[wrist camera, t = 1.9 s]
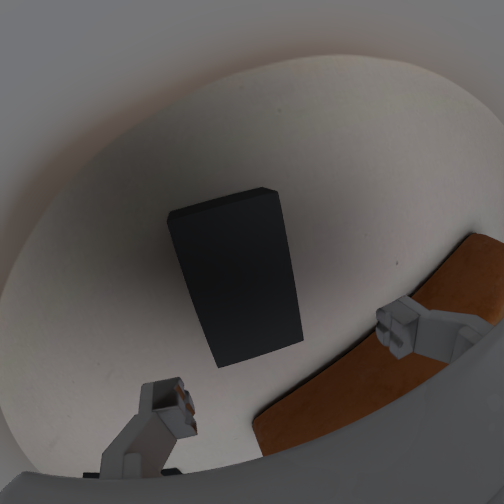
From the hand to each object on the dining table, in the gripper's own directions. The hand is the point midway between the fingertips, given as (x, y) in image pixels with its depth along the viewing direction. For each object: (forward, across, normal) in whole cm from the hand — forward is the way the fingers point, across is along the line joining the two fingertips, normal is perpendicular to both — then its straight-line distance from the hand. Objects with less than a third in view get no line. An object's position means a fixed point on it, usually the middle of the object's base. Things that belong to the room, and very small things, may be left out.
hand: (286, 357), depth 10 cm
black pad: (+9, 0, 0) cm, 9 cm away
